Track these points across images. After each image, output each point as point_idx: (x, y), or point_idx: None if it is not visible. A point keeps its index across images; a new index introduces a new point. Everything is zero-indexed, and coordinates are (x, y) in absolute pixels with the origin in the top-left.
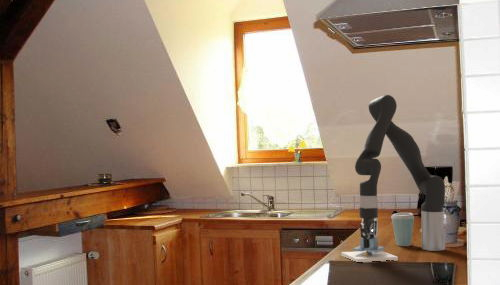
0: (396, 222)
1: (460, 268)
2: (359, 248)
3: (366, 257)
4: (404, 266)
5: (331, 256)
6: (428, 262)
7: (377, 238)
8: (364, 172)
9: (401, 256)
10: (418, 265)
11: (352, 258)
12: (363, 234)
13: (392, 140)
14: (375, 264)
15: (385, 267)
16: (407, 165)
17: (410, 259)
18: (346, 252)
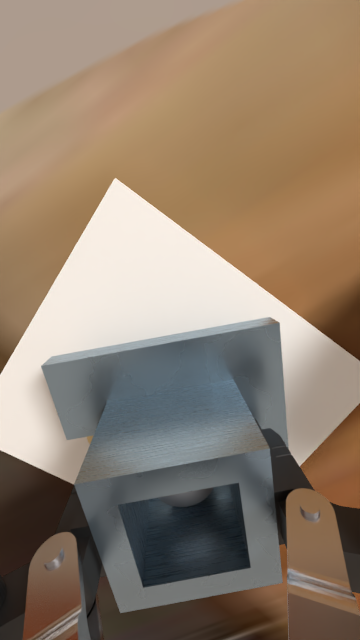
0: None
1: None
2: (80, 410)
3: (67, 448)
4: (102, 603)
5: (35, 130)
6: (257, 621)
7: (268, 572)
8: None
9: (337, 490)
10: (166, 624)
11: (4, 373)
12: (27, 626)
13: None
14: (37, 505)
15: (12, 566)
16: None
17: (281, 551)
18: (134, 227)
